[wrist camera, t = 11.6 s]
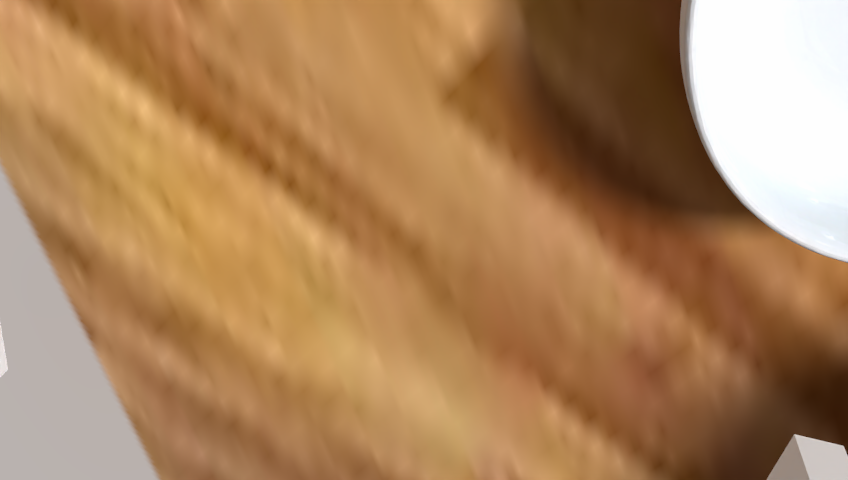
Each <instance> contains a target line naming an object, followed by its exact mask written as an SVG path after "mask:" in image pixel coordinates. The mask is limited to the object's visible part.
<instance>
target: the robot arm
mask: <svg viewBox="0 0 848 480" xmlns="http://www.w3.org/2000/svg"><path fill="white" fill-rule="evenodd" d="M7 370H8V367H7V361H6V354H5V348H4V342H3V336H2V330H1V324H0V377H1V376H2V375H3V374H4V373H5V372H6V371H7ZM766 480H848V455H847V453H846V450H845V448H844V446H842V445H838V444H834V443H830V442H825V441H821V440H817V439H813V438H808V437H804V436H800V435H796V434H794V435H793V437H792V439H791V440H790V442H789V444H788V445H787V447H786V448H785V450H784V452H783V453H782V455H781V457H780V458H779V460H778V461H777V463H776V465H775V466H774V468H773V470H772V471H771V473H770V475H769V476H768V478H767V479H766Z"/></svg>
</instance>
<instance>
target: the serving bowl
mask: <svg viewBox="0 0 848 480" xmlns="http://www.w3.org/2000/svg"><path fill="white" fill-rule="evenodd" d="M679 33H680V58H681V68H682V75H683V81H684V86H685V91H686V96H687V100H688V104H689V107H690V111H691V114H692V117H693V120H694V123H695V126H696V129H697V132H698V134H699V137H700V139H701V142H702V144H703V146H704V148H705V150H706V152H707V154H708V156H709V158H710V160H711V162H712V164H713V165H714V167H715V169H716V170H717V172H718V173H719V175H720V176H721V178H722V179H723V181H724V182H725V183H726V185H727V186H728V188H729V189H730V190H731V191H732V192H733V194H734V195H735V196H736V197H737V198H738V200H739V201H740V202H741V203H742V204H743V205H744V206H745V207H746V208H747V209H748V210H749V211H750V212H752V213H753V214H754V215H755V216H756V217H757V218H758V219H760V220H761V221H762V222H763V223H765V224H766V225H767V226H768V227H770V228H771V229H773V230H774V231H776V232H777V233H779V234H780V235H782V236H784V237H785V238H787V239H789V240H791V241H792V242H794V243H796V244H798V245H800V246H802V247H804V248H806V249H809V250H811V251H813V252H815V253H818V254H821V255H824V256H826V257H830V258H833V259H836V260H840V261H843V262H847V263H848V0H682V3H681V12H680V29H679Z"/></svg>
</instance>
